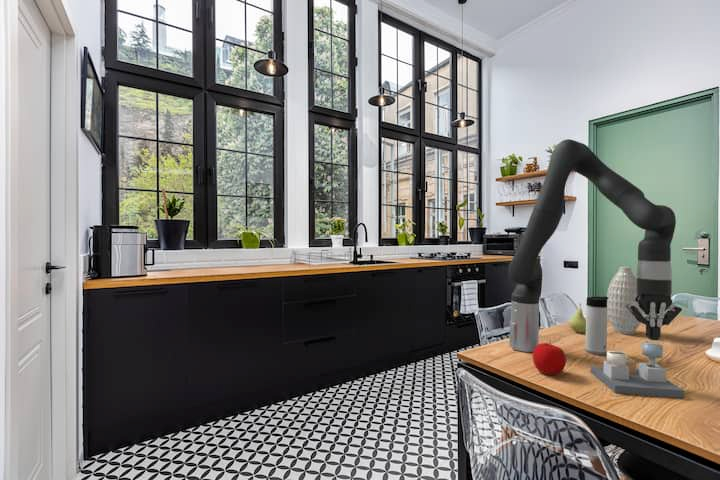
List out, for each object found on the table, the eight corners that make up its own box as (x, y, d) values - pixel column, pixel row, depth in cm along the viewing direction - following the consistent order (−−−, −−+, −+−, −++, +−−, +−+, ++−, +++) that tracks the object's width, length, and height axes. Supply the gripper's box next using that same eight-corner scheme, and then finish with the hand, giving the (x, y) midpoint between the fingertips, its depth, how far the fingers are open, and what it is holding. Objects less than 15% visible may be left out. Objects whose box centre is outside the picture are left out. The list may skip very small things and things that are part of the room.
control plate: (614, 393, 95) (615, 372, 95) (590, 372, 109) (591, 354, 109) (684, 398, 92) (684, 376, 92) (650, 376, 106) (650, 358, 106)
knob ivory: (611, 377, 100) (611, 354, 100) (603, 371, 104) (603, 349, 104) (628, 378, 99) (629, 355, 99) (620, 372, 103) (620, 350, 103)
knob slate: (648, 369, 98) (648, 345, 98) (638, 363, 102) (639, 340, 102) (666, 370, 97) (666, 346, 97) (656, 364, 102) (656, 341, 101)
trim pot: (623, 373, 104) (624, 356, 104) (618, 369, 107) (618, 353, 107) (635, 373, 103) (635, 357, 103) (629, 369, 106) (629, 354, 106)
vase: (606, 327, 163) (607, 265, 162) (642, 331, 156) (643, 266, 155) (605, 333, 153) (606, 267, 152) (643, 338, 145) (645, 269, 145)
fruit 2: (568, 332, 153) (569, 304, 153) (570, 329, 160) (570, 302, 159) (587, 335, 150) (587, 306, 149) (588, 331, 156) (588, 303, 155)
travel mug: (611, 356, 124) (612, 298, 124) (589, 354, 125) (590, 297, 125) (602, 350, 130) (603, 295, 130) (582, 349, 132) (583, 294, 131)
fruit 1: (573, 376, 106) (573, 343, 106) (548, 380, 104) (549, 345, 103) (548, 365, 115) (549, 334, 115) (525, 368, 112) (525, 336, 112)
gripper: (634, 278, 97) (634, 342, 97) (691, 279, 95) (690, 344, 95) (619, 275, 104) (619, 334, 105) (671, 276, 102) (671, 337, 102)
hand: (653, 339), depth 100 cm, fingers closed
